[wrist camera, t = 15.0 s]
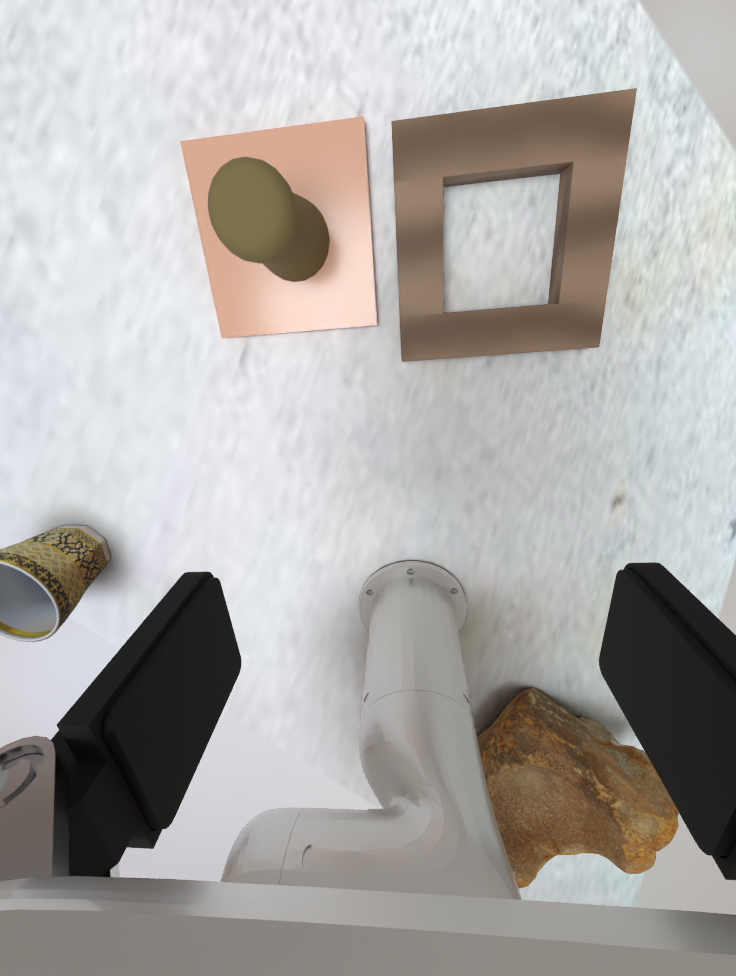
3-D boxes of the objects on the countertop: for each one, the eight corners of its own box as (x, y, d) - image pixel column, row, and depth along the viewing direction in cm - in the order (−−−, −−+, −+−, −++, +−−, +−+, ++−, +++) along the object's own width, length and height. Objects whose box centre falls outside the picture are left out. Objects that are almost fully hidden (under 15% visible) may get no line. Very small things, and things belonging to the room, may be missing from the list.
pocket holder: (585, 345, 34) (599, 347, 32) (401, 358, 36) (401, 361, 34) (617, 106, 28) (636, 88, 26) (392, 136, 30) (391, 121, 27)
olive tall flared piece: (298, 175, 30) (248, 107, 20) (344, 250, 32) (318, 221, 22) (241, 229, 32) (167, 190, 22) (287, 297, 34) (239, 290, 24)
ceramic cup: (64, 494, 45) (-22, 540, 35) (139, 549, 47) (76, 605, 38) (19, 560, 49) (-68, 617, 40) (90, 607, 51) (23, 671, 42)
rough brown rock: (578, 640, 48) (635, 762, 35) (645, 728, 52) (722, 871, 38) (424, 708, 56) (421, 828, 43) (490, 780, 59) (506, 914, 46)
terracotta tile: (377, 324, 35) (376, 325, 34) (226, 337, 36) (221, 338, 35) (364, 122, 29) (363, 116, 29) (186, 146, 31) (180, 141, 30)
